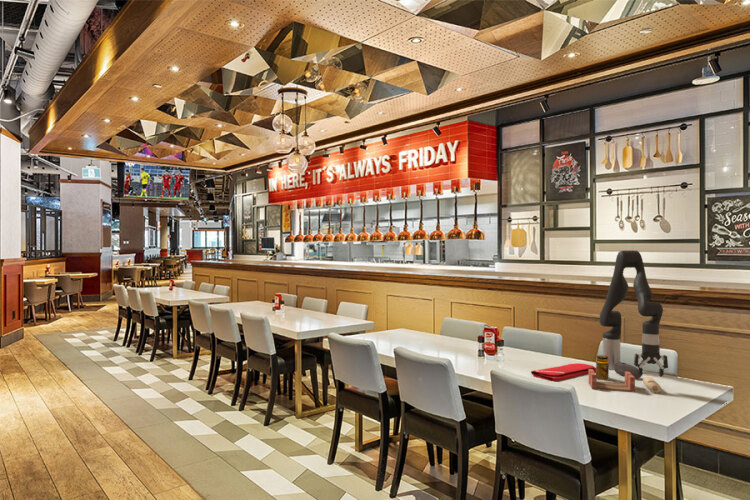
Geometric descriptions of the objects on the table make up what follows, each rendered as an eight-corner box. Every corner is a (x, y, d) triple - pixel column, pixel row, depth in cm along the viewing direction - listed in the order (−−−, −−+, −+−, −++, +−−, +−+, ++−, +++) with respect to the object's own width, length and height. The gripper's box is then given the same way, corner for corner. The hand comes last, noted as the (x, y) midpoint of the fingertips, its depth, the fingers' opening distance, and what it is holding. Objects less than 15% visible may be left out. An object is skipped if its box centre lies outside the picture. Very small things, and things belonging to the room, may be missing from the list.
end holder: (588, 382, 247) (588, 369, 247) (629, 385, 241) (629, 371, 241) (592, 389, 235) (592, 374, 235) (635, 392, 230) (634, 377, 230)
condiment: (608, 381, 250) (608, 358, 250) (591, 378, 254) (591, 356, 254) (609, 377, 256) (609, 355, 256) (592, 375, 260) (592, 353, 260)
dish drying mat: (600, 372, 270) (600, 365, 270) (554, 383, 248) (554, 376, 248) (575, 366, 283) (575, 360, 283) (529, 376, 261) (529, 369, 261)
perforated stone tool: (644, 380, 252) (644, 366, 252) (637, 381, 250) (637, 367, 250) (620, 373, 266) (620, 360, 266) (613, 374, 264) (613, 361, 264)
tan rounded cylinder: (641, 385, 241) (643, 375, 241) (652, 387, 240) (654, 377, 239) (648, 392, 229) (650, 382, 229) (660, 394, 228) (661, 384, 227)
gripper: (664, 342, 236) (665, 375, 236) (632, 340, 240) (633, 373, 240) (669, 344, 229) (669, 378, 228) (636, 343, 233) (636, 376, 232)
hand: (650, 375), depth 234 cm, fingers open, 8 cm apart
